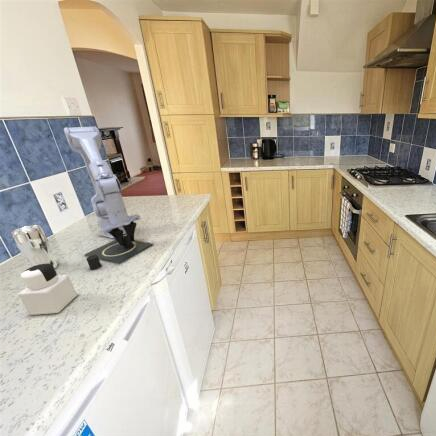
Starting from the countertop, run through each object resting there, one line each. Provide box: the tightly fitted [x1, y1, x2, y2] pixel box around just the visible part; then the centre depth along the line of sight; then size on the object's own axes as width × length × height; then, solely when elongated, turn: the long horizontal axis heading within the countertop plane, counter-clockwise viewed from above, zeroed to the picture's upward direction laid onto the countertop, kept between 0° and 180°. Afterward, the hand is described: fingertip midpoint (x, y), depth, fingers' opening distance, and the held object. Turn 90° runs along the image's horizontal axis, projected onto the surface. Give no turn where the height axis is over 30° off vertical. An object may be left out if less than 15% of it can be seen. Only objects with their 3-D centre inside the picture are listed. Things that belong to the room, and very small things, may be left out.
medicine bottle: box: [17, 264, 78, 316], centre depth 64 cm, size 7×7×12 cm
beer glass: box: [10, 224, 58, 269], centre depth 80 cm, size 7×7×15 cm
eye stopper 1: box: [85, 255, 102, 271], centre depth 82 cm, size 3×3×4 cm
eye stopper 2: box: [123, 234, 133, 248], centre depth 94 cm, size 3×3×4 cm
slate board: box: [84, 239, 154, 265], centre depth 93 cm, size 18×14×1 cm
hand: (127, 243), depth 94 cm, fingers open, 3 cm apart
